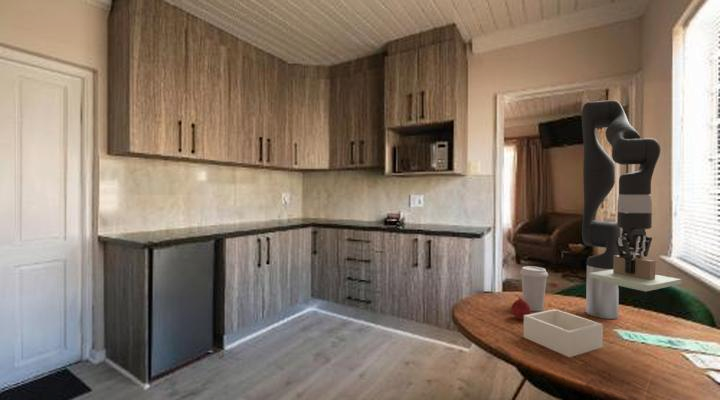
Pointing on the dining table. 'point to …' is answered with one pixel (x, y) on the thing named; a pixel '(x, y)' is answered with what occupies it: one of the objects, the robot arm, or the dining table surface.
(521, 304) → the onion
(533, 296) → the coffee cup
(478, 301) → the dining table surface
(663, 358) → the dining table surface
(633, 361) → the dining table surface
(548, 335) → the box
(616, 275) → the lid
